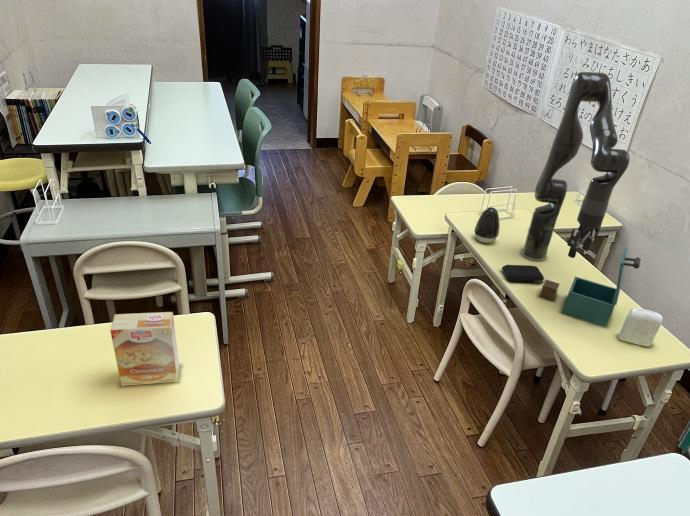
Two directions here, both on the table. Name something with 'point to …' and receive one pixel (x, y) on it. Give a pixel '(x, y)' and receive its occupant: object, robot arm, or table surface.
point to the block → (549, 290)
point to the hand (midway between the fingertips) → (578, 253)
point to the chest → (590, 301)
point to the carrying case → (523, 273)
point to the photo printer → (640, 327)
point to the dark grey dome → (487, 226)
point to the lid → (635, 265)
